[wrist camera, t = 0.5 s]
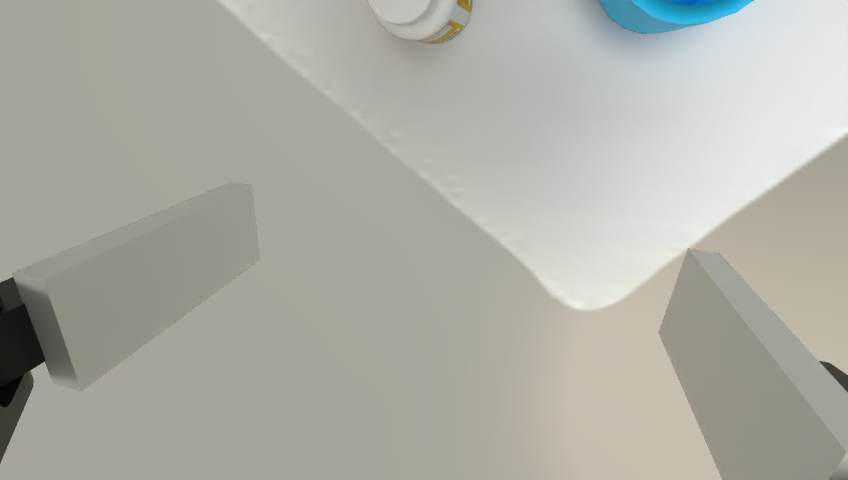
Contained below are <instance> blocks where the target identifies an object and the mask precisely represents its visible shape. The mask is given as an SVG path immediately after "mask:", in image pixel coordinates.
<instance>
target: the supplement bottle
mask: <svg viewBox="0 0 848 480" xmlns="http://www.w3.org/2000/svg"><path fill="white" fill-rule="evenodd" d="M367 1H368V3H369V5H370V7H371V8H372V10H373V12H374V14H375V16H376V18H377V20H378V21H379V22H380V24H381V25H382V26H383V27H384V28H385V29H386V30H387V31H388V32H390V33H391V34H393V35H395V36H397V37H399V38H402V39H406V40H411V41H418V42H424V43H442V42H446V41H448V40H450V39H452V38H453V37H455V36H456V35H457V34H458V33H459V32H460V31H461V30H462V29H463V28H464V26H465V25H466V23H467V21H468V19H469V16H470V13H471V8H472V0H367Z"/></svg>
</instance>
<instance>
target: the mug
mask: <svg viewBox="0 0 848 480" xmlns="http://www.w3.org/2000/svg"><path fill="white" fill-rule="evenodd" d="M599 1H600V3H601V5H602V6H603V8H604V10H605V11H606V13H607V15H608V16H609V17H610V18H611V19H612V20H614V21H615V22H616V23H618V24H619V25H620V26H622V27H623V28H625V29H629V30H632V31H636V32H639V33H660V32H667V31H671V30H676V29H681V28H685V27H690V26H695V25H699V24H704V23H708V22H710V21H713V20H716V19H719V18H722V17H724V16H727V15H730V14H733V13H736V12H737V11H739V10H740V9H742V8H743V7H744V6H746V5H747V4H749V3H750V2H752V1H753V0H599Z"/></svg>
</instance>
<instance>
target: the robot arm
mask: <svg viewBox="0 0 848 480" xmlns="http://www.w3.org/2000/svg"><path fill="white" fill-rule="evenodd" d="M259 260H260V258H259V248H258V238H257V228H256V218H255V208H254V199H253V189H252V185H249V184H242V183H235V182H230V183H228V184H225V185H223V186H220V187H218V188H216V189H213V190H211V191H208V192H206V193H204V194H201V195H199V196H196V197H194V198H192V199H189V200H186V201H184V202H182V203H179V204H177V205H174V206H172V207H170V208H167V209H165V210H162V211H160V212H157V213H155V214H153V215H150V216H148V217H145V218H143V219H140V220H138V221H136V222H133V223H131V224H128V225H126V226H124V227H121V228H119V229H116V230H114V231H112V232H109V233H107V234H104V235H102V236H99V237H97V238H95V239H92V240H90V241H87V242H85V243H83V244H80V245H78V246H75V247H73V248H70V249H68V250H65V251H63V252H61V253H58V254H56V255H53V256H51V257H48V258H46V259H44V260H41V261H39V262H36V263H34V264H32V265H29V266H27V267H25V268H22V269H19V270H17V271H15V272H12V275H13V277H12V278H10V279H8V280H5V281H3V282H1V283H0V463H1V460H2V458H3V456H4V453H5V451H6V449H7V446H8V444H9V442H10V439H11V437H12V435H13V432H14V430H15V427H16V425H17V423H18V421H19V418H20V416H21V413H22V411H23V409H24V406H25V404H26V402H27V400H28V397H29V395H30V393H31V390H32V388H33V377H32V375H31V372H30V370H31V369H33V368H35V367H36V366H38V365H39V364H41V363H43V362H44V361H45V363H46V366H47V369H48V371H49V374H50V377H51V379H52V382H53V384H57V385H61V386H64V387H68V388H72V389H75V390H79V391H83V390H84V389H85V388H87V387H88V386H89V385H91V384H92V383H93V382H95V381H96V380H98V379H99V378H100V377H102V376H103V375H104V374H106V373H107V372H108V371H110V370H111V369H112V368H114V367H115V366H117V365H118V364H119V363H121V362H122V361H123V360H125V359H126V358H127V357H129V356H130V355H131V354H133V353H134V352H136V351H137V350H138V349H139V348H141V347H142V346H144V345H145V344H146V343H148V342H149V341H150V340H152V339H153V338H154V337H156V336H157V335H159V334H160V333H161V332H163V331H164V330H165V329H167V328H168V327H169V326H171V325H172V324H174V323H175V322H176V321H178V320H179V319H180V318H182V317H183V316H184V315H186V314H187V313H189V312H190V311H191V310H193V309H194V308H195V307H197V306H198V305H199V304H201V303H202V302H204V301H205V300H206V299H208V298H209V297H210V296H212V295H213V294H214V293H216V292H217V291H218V290H220V289H221V288H223V287H224V286H225V285H227V284H228V283H229V282H230V281H232V280H233V279H235V278H236V277H237V276H239V275H240V274H242V273H243V272H244V271H246V270H247V269H248V268H250V267H251V266H252V265H254V264H255V263H256V262H258V261H259ZM659 335H660V337H661V339H662V342H663V344H664V346H665V349H666V351H667V353H668V356H669V358H670V360H671V363H672V365H673V367H674V369H675V371H676V374H677V376H678V379H679V381H680V383H681V386H682V388H683V390H684V392H685V395H686V397H687V399H688V402H689V404H690V406H691V408H692V411H693V413H694V415H695V418H696V420H697V422H698V425H699V427H700V429H701V431H702V434H703V436H704V438H705V441H706V443H707V445H708V448H709V450H710V452H711V455H712V457H713V459H714V461H715V464H716V466H717V468H718V471H719V473H720V475H721V478H722V480H848V375H847V374H845V373H843V372H842V371H841V370H839V369H838V368H836V367H835V366H833V365H832V364H830V363H827V362H822V361H818V360H817V359H816V358H815V356H814V355H813V354H812V353H811V352H810V351H809V350H808V349H807V348H806V347H805V346H804V345H803V343H801V341H800V340H799V339H798V338H797V337H796V336H795V335H794V334H793V333H792V331H791V330H790V329H789V328H788V327H787V326H786V325H785V324H784V323H783V322H782V321H781V319H780V318H779V317H778V316H777V315H776V314H775V313H774V312H773V311H772V310H771V309H770V308H769V306H768V305H767V304H766V303H765V302H764V301H763V300H762V299H761V298H760V297H759V296H758V295H757V293H756V292H755V291H754V290H753V289H752V288H751V287H750V286H749V285H748V284H747V283H746V281H745V280H744V279H743V278H742V277H741V276H740V275H739V274H738V273H737V272H736V270H734V268H733V267H732V266H731V265H730V264H729V263H728V262H727V261H726V260H725V259H724V258H723V256H722V255H721V254H720V253H716V252H709V251H702V250H696V249H689V248H688V250H687V253H686V256H685V258H684V261H683V264H682V267H681V270H680V273H679V276H678V279H677V281H676V284H675V287H674V290H673V293H672V296H671V299H670V301H669V304H668V307H667V310H666V313H665V315H664V318H663V321H662V324H661V327H660V330H659Z"/></svg>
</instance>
